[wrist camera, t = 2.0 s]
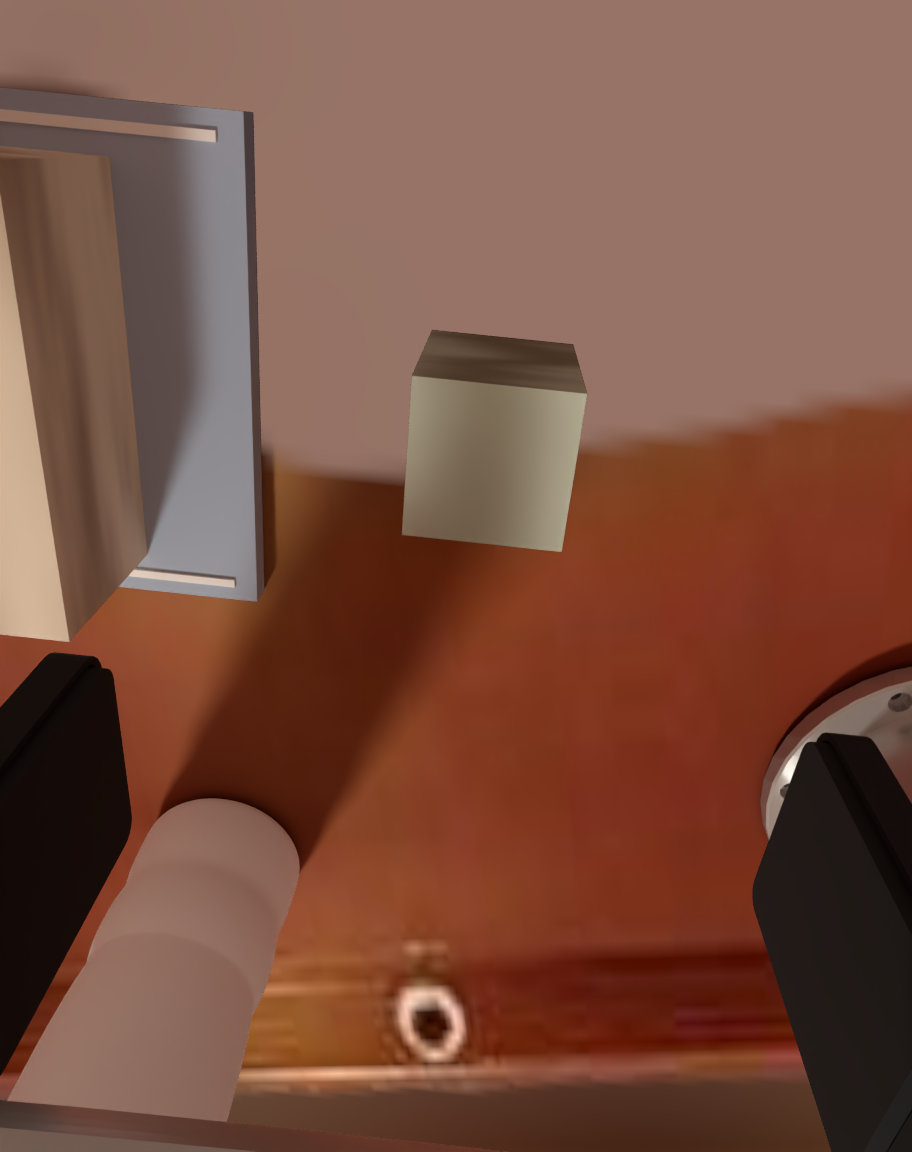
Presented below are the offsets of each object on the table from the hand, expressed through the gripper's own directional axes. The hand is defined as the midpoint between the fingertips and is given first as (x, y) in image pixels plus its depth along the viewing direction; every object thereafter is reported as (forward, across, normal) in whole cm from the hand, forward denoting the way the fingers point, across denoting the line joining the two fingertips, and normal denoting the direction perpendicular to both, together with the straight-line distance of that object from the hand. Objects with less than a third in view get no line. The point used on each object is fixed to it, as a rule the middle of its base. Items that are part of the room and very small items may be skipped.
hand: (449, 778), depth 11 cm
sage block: (+19, 0, 0) cm, 19 cm away
